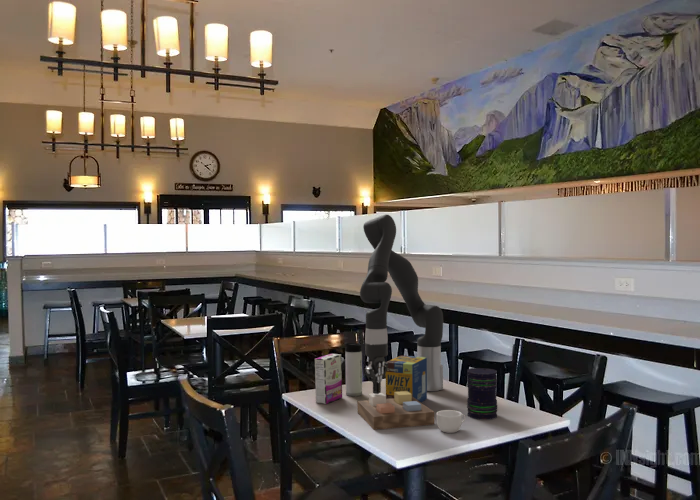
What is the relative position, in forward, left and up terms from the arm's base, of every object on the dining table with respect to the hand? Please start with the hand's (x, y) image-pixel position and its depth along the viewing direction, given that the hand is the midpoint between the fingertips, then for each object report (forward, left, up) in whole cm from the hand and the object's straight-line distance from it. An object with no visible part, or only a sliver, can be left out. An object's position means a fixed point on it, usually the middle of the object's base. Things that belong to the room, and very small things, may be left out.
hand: (376, 393), depth 202 cm
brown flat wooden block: (-5, +5, -8) cm, 10 cm away
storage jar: (-34, +10, -8) cm, 36 cm away
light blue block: (-9, +9, -6) cm, 14 cm away
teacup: (-18, +22, -8) cm, 29 cm away
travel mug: (0, -30, -8) cm, 31 cm away
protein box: (-16, -14, -8) cm, 23 cm away
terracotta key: (0, +9, -6) cm, 11 cm away
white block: (0, 0, -5) cm, 5 cm away
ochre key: (-9, 0, -4) cm, 10 cm away
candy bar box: (+11, -24, -8) cm, 28 cm away
